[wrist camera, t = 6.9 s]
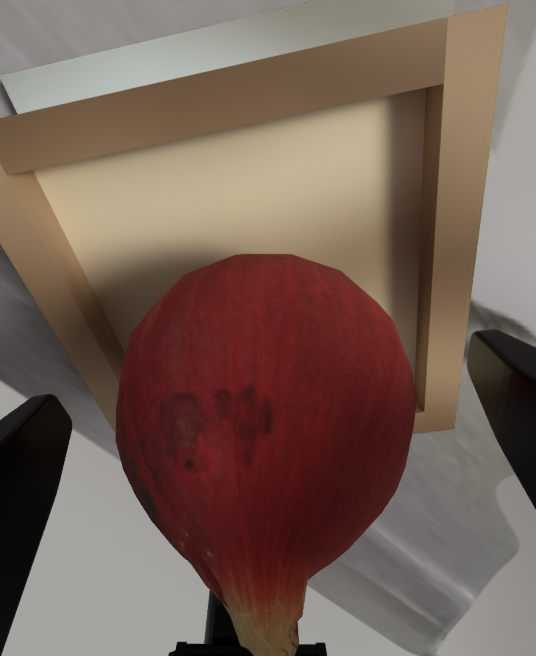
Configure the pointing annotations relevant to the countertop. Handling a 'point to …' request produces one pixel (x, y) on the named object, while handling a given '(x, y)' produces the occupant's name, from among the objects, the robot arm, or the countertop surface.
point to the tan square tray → (259, 172)
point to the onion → (264, 429)
